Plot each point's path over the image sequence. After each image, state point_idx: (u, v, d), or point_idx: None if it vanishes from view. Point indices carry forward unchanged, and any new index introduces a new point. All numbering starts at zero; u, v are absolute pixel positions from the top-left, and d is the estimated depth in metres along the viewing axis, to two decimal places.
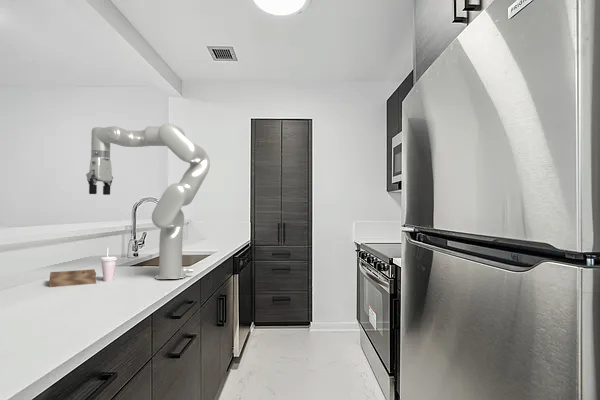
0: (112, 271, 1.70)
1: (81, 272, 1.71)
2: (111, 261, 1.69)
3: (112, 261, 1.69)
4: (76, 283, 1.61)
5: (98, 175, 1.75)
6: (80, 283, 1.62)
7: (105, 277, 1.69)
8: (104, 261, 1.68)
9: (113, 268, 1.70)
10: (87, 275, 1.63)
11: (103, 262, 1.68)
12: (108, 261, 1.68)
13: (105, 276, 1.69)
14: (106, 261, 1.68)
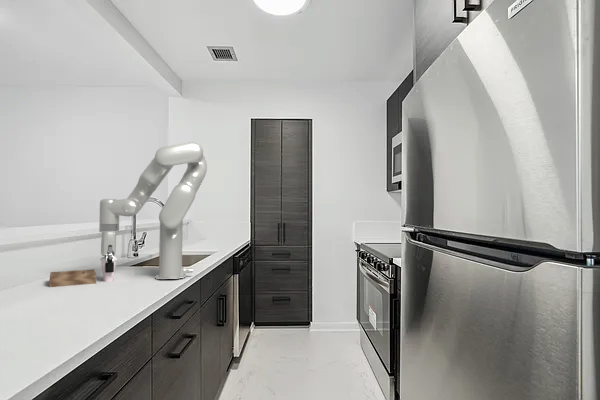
0: None
1: (81, 272, 1.71)
2: None
3: None
4: (76, 283, 1.61)
5: None
6: (80, 283, 1.62)
7: (105, 277, 1.69)
8: (104, 261, 1.68)
9: None
10: (87, 275, 1.63)
11: (103, 262, 1.68)
12: None
13: (105, 276, 1.68)
14: None
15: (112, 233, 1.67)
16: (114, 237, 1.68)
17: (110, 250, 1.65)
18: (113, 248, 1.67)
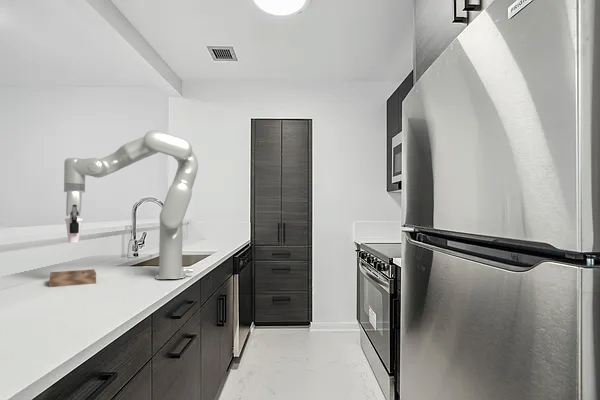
0: None
1: (81, 272, 1.71)
2: None
3: None
4: (76, 283, 1.61)
5: None
6: (80, 283, 1.62)
7: (70, 238, 1.64)
8: (68, 221, 1.63)
9: None
10: (87, 275, 1.63)
11: (67, 223, 1.63)
12: None
13: (70, 237, 1.64)
14: None
15: (76, 193, 1.63)
16: (79, 197, 1.63)
17: (74, 210, 1.61)
18: (78, 208, 1.62)
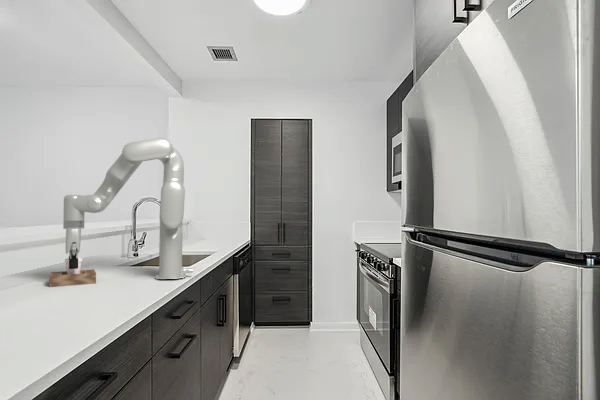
0: (77, 273, 1.65)
1: (81, 272, 1.71)
2: None
3: None
4: (76, 283, 1.61)
5: None
6: (80, 283, 1.62)
7: None
8: (68, 262, 1.63)
9: (78, 270, 1.65)
10: (87, 275, 1.63)
11: (67, 263, 1.63)
12: None
13: None
14: None
15: (76, 230, 1.62)
16: (78, 234, 1.63)
17: (74, 245, 1.60)
18: (77, 245, 1.62)
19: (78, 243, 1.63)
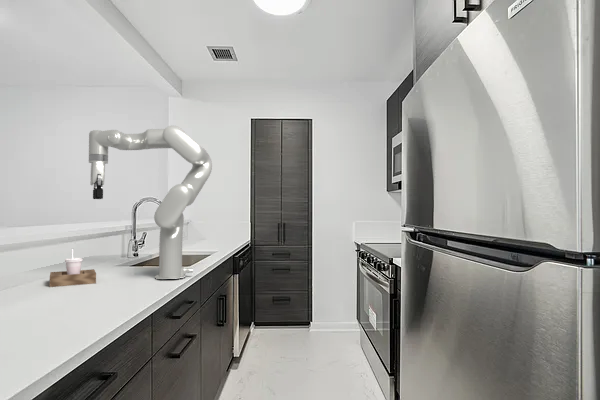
0: (77, 273, 1.65)
1: (81, 272, 1.71)
2: (76, 262, 1.64)
3: (77, 262, 1.64)
4: (76, 283, 1.61)
5: None
6: (80, 283, 1.62)
7: None
8: (68, 262, 1.63)
9: (78, 270, 1.65)
10: (87, 275, 1.63)
11: (67, 263, 1.63)
12: (72, 262, 1.63)
13: None
14: (70, 262, 1.63)
15: (100, 163, 1.73)
16: (103, 167, 1.73)
17: (99, 176, 1.70)
18: (102, 177, 1.72)
19: (103, 175, 1.73)
